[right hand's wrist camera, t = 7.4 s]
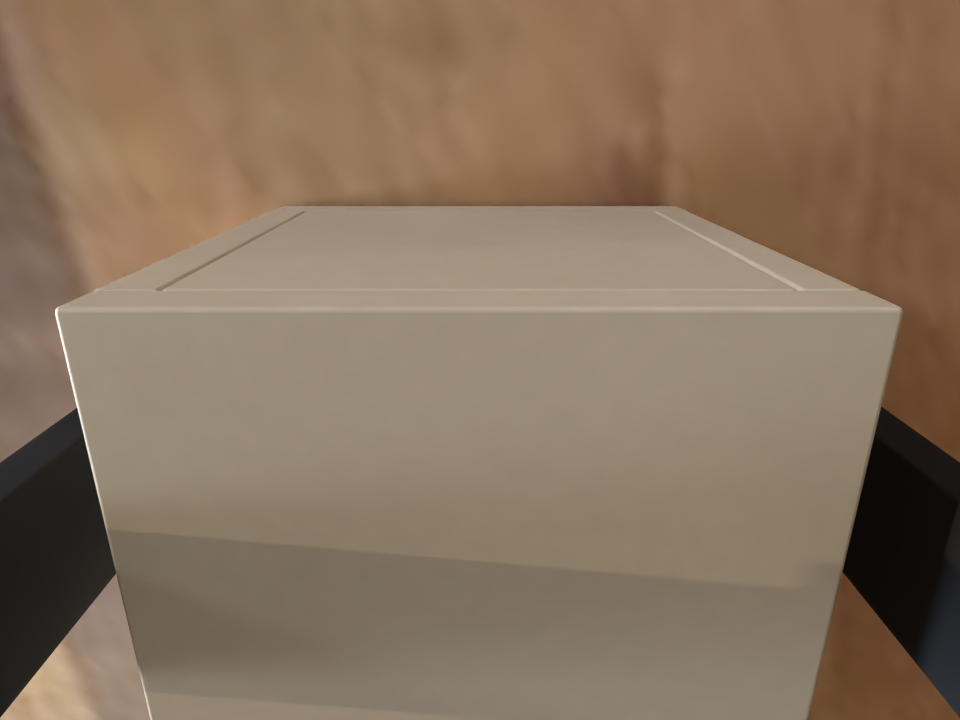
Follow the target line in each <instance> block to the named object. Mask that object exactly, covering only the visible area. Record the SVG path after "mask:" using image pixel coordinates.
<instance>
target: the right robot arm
mask: <svg viewBox="0 0 960 720" xmlns="http://www.w3.org/2000/svg"><path fill="white" fill-rule="evenodd" d="M843 573H844V574H845V575H846V576H847V578H848V579H849V580H850V581H851V583H852V584H853V585H854V586H855V588H856V589H857V590H858V591H859V593H860V594H861V595H862V596H863V598H864V599H865V600H866V601H867V603H868V604H869V605H870V606H871V608H872V609H873V610H874V611H875V613H876V614H877V615H878V616H879V618H880V619H881V620H882V621H883V623H884V624H885V625H886V626H887V628H888V629H889V630H890V631H891V632H892V634H893V635H894V636H895V637H896V639H897V640H898V641H899V642H900V644H901V645H902V646H903V647H904V649H905V650H906V651H907V652H908V654H909V655H910V656H911V657H912V659H913V660H914V661H915V662H916V664H917V665H918V666H919V667H920V669H921V670H922V671H923V672H924V674H925V675H926V676H927V677H928V679H929V680H930V681H931V682H932V684H933V685H934V686H935V687H936V689H937V690H938V691H939V692H940V693H941V695H942V696H943V697H944V698H945V700H946V701H947V702H948V703H949V705H950V706H951V707H952V708H953V710H954V711H955V712H956V713H957V715H958V716H959V717H960V463H959V462H958V461H957V460H955V459H954V458H952V457H951V456H950V455H948V454H947V453H945V452H944V451H943V450H941V449H940V448H938V447H937V446H936V445H934V444H933V443H931V442H930V441H929V440H927V439H926V438H924V437H923V436H922V435H920V434H919V433H917V432H916V431H915V430H913V429H912V428H910V427H909V426H908V425H906V424H905V423H903V422H902V421H901V420H899V419H898V418H896V417H895V416H894V415H892V414H891V413H889V412H888V411H887V410H885V409H884V408H882V407H881V410H880V414H879V418H878V422H877V427H876V431H875V435H874V439H873V444H872V448H871V452H870V457H869V461H868V465H867V469H866V474H865V478H864V482H863V486H862V491H861V495H860V499H859V503H858V508H857V512H856V516H855V520H854V525H853V529H852V533H851V538H850V542H849V546H848V550H847V555H846V559H845V563H844V567H843ZM115 574H116V570H115V566H114V561H113V557H112V553H111V549H110V544H109V540H108V536H107V532H106V528H105V523H104V519H103V515H102V511H101V506H100V502H99V498H98V494H97V489H96V485H95V481H94V477H93V472H92V468H91V464H90V460H89V455H88V451H87V447H86V443H85V438H84V434H83V430H82V426H81V421H80V417H79V413H78V409H77V408H76V409H75V410H73V411H72V412H71V413H69V414H68V415H66V416H65V417H64V418H62V419H61V420H59V421H58V422H57V423H55V424H54V425H52V426H51V427H50V428H48V429H47V430H45V431H44V432H43V433H41V434H40V435H38V436H37V437H36V438H34V439H33V440H31V441H30V442H29V443H27V444H26V445H24V446H23V447H22V448H20V449H19V450H17V451H16V452H15V453H13V454H12V455H10V456H9V457H8V458H6V459H5V460H3V461H2V462H1V463H0V717H1V716H2V715H3V713H4V712H5V711H6V710H7V708H8V707H9V706H10V705H11V703H12V702H13V701H14V700H15V698H16V697H17V696H18V695H19V693H20V692H21V691H22V690H23V689H24V687H25V686H26V685H27V684H28V682H29V681H30V680H31V679H32V677H33V676H34V675H35V674H36V672H37V671H38V670H39V669H40V667H41V666H42V665H43V664H44V662H45V661H46V660H47V659H48V657H49V656H50V655H51V654H52V652H53V651H54V650H55V649H56V647H57V646H58V645H59V644H60V642H61V641H62V640H63V639H64V637H65V636H66V635H67V634H68V632H69V631H70V630H71V629H72V628H73V626H74V625H75V624H76V623H77V621H78V620H79V619H80V618H81V616H82V615H83V614H84V613H85V611H86V610H87V609H88V608H89V606H90V605H91V604H92V603H93V601H94V600H95V599H96V598H97V596H98V595H99V594H100V593H101V591H102V590H103V589H104V588H105V586H106V585H107V584H108V583H109V581H110V580H111V579H112V578H113V576H114V575H115Z"/></svg>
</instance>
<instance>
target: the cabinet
mask: <svg viewBox="0 0 960 720" xmlns="http://www.w3.org/2000/svg"><path fill="white" fill-rule="evenodd" d="M55 315H56V320H57V324H58V328H59V332H60V337H61V341H62V345H63V349H64V354H65V358H66V362H67V366H68V371H69V375H70V379H71V383H72V387H73V392H74V396H75V400H76V404H77V409H78V413H79V417H80V421H81V426H82V430H83V434H84V438H85V443H86V447H87V451H88V455H89V460H90V464H91V468H92V472H93V477H94V481H95V485H96V489H97V494H98V498H99V502H100V506H101V511H102V515H103V519H104V523H105V528H106V532H107V536H108V540H109V544H110V549H111V553H112V557H113V561H114V566H115V570H116V574H117V578H118V583H119V587H120V591H121V595H122V600H123V604H124V608H125V612H126V617H127V621H128V625H129V629H130V634H131V638H132V642H133V646H134V651H135V655H136V659H137V663H138V668H139V672H140V676H141V680H142V685H143V689H144V693H145V697H146V702H147V706H148V710H149V714H150V718H151V720H808V717H809V712H810V708H811V704H812V700H813V695H814V691H815V687H816V682H817V678H818V674H819V670H820V665H821V661H822V657H823V653H824V648H825V644H826V640H827V636H828V631H829V627H830V623H831V619H832V614H833V610H834V606H835V601H836V597H837V593H838V589H839V584H840V580H841V576H842V572H843V567H844V563H845V559H846V555H847V550H848V546H849V542H850V538H851V533H852V529H853V525H854V520H855V516H856V512H857V508H858V503H859V499H860V495H861V491H862V486H863V482H864V478H865V474H866V469H867V465H868V461H869V457H870V452H871V448H872V444H873V439H874V435H875V431H876V427H877V422H878V418H879V414H880V410H881V405H882V401H883V397H884V393H885V388H886V384H887V380H888V376H889V371H890V367H891V363H892V358H893V354H894V350H895V346H896V341H897V337H898V333H899V329H900V324H901V320H902V316H903V309H902V308H901V307H899V306H897V305H895V304H892V303H890V302H888V301H886V300H884V299H881V298H879V297H877V296H875V295H872V294H870V293H868V292H866V291H861V290H860V289H858V288H855V287H853V286H851V285H849V284H847V283H844V282H842V281H840V280H838V279H836V278H833V277H831V276H829V275H827V274H825V273H822V272H820V271H818V270H816V269H813V268H811V267H809V266H807V265H805V264H802V263H800V262H798V261H796V260H794V259H791V258H789V257H787V256H785V255H783V254H780V253H778V252H776V251H774V250H771V249H769V248H767V247H765V246H763V245H760V244H758V243H756V242H754V241H752V240H749V239H747V238H745V237H743V236H741V235H738V234H736V233H734V232H732V231H730V230H727V229H725V228H723V227H721V226H718V225H716V224H714V223H712V222H710V221H707V220H705V219H703V218H701V217H699V216H696V215H694V214H692V213H690V212H687V211H686V210H683V209H681V208H679V207H677V206H282V207H280V208H278V209H276V210H273V211H270V212H268V213H265V214H263V215H261V216H259V217H256V218H254V219H252V220H250V221H247V222H245V223H243V224H241V225H239V226H236V227H234V228H232V229H230V230H227V231H225V232H223V233H221V234H218V235H216V236H214V237H212V238H210V239H207V240H205V241H203V242H201V243H198V244H196V245H194V246H192V247H190V248H187V249H185V250H183V251H181V252H178V253H176V254H174V255H172V256H169V257H167V258H165V259H163V260H161V261H158V262H156V263H154V264H152V265H149V266H147V267H145V268H143V269H140V270H138V271H136V272H134V273H132V274H129V275H127V276H125V277H123V278H120V279H118V280H116V281H114V282H111V283H109V284H107V285H105V286H103V287H100V288H98V289H96V290H95V291H93V292H91V293H88V294H86V295H84V296H82V297H79V298H77V299H75V300H73V301H71V302H68V303H66V304H64V305H62V306H59V307H57V308H56V310H55Z"/></svg>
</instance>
